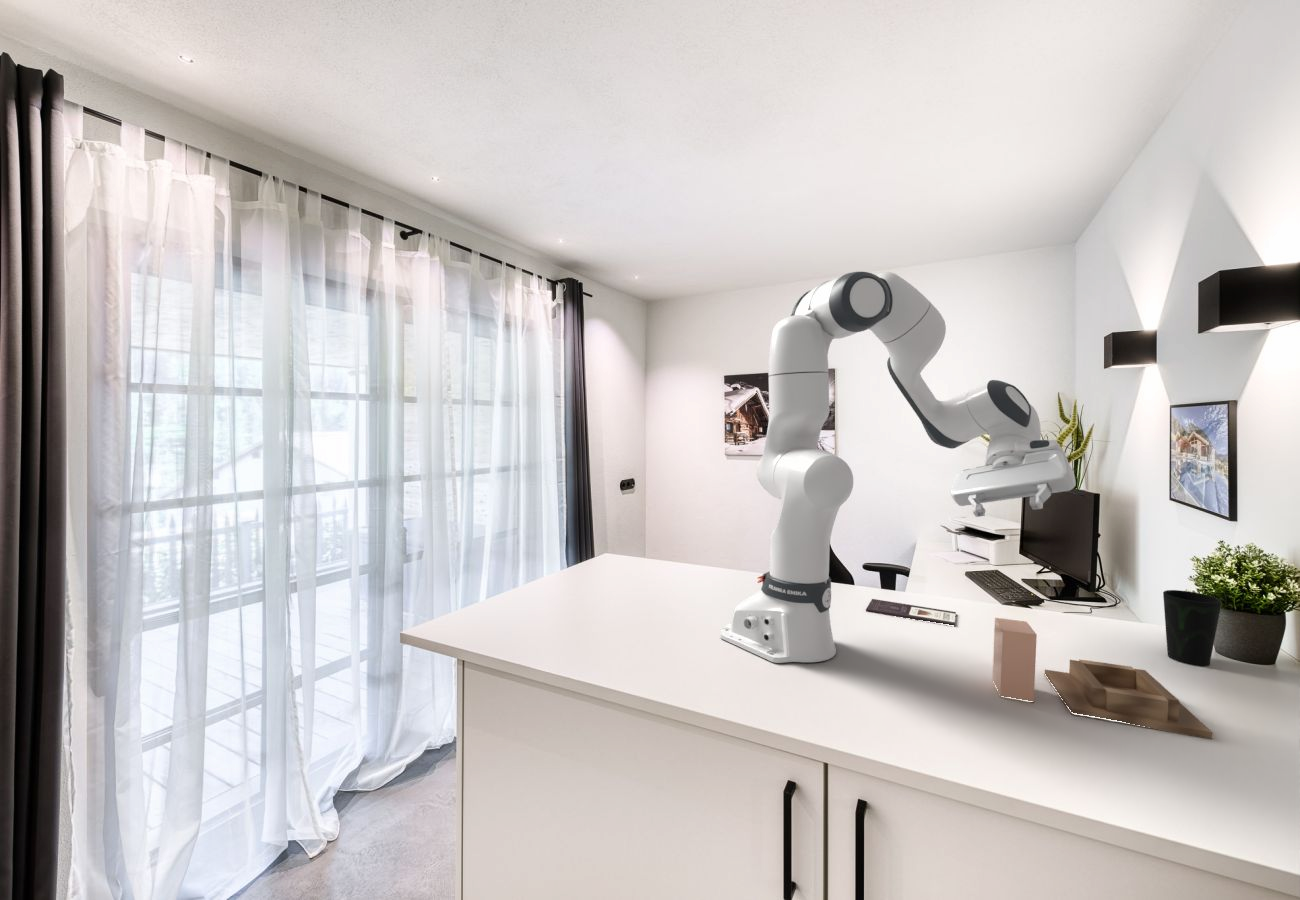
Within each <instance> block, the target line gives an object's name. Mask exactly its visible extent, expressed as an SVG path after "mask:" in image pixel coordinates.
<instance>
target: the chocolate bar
mask: <svg viewBox="0 0 1300 900" xmlns="http://www.w3.org/2000/svg"><path fill="white" fill-rule="evenodd" d="M865 612H866V613H873V614H879V615H883V616H890V617H894V616H896V617H895V618H900V617H903V618H902V619H906V618H910V619H909V620H912V619H915V620H914V621H918V620H923V621H930V622H936V623H943V624H949V625H956V617H955V616H957V615H956V614H957V611H953V610H945V609H938V608H933V607H925V606H920V605H914V604H906V603H901V602H895V601H888V600H882V599H876V598H871V600H870V602H869V603H868V606H867V607H866V608H865ZM923 621H922V622H923Z"/></svg>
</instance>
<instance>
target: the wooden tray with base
mask: <svg viewBox="0 0 1300 900" xmlns="http://www.w3.org/2000/svg"><path fill="white" fill-rule="evenodd" d="M1045 674H1046V676H1047V677H1048V679H1049V680H1050V682H1051V683H1052V684H1053V686H1054V687H1055V689H1056V690H1057V692H1058V693H1059V695H1060V696H1061V698H1062V699H1063V701H1064V702H1065V703H1066V705H1067V706H1068V707H1069V709H1070V710H1071V712H1073V713H1077V714H1083V715H1089V716H1095V717H1100V718H1106V719H1111V720H1117V721H1122V722H1126V723H1130V724H1135V725H1140V726H1145V727H1150V728H1149V729H1151V728H1153V729H1152V730H1156V729H1158V731H1162V730H1163V731H1162V732H1167V733H1168V732H1170V733H1175V734H1181V735H1187V736H1193V737H1198V738H1202V739H1203V738H1204V739H1209V740H1213V734H1214V733H1213V731H1212V730H1211V729H1210V728H1209V727H1208V726H1207V725H1205V724H1204V723H1203V722H1202V721H1201V720H1200V719H1199V718H1197V717H1198V716H1196V715H1194V714H1193V713H1192V712H1191V711H1190V710H1189V709H1188V708H1187V707H1185V705H1183V704H1182V703H1181V702H1180V700H1179V699H1178V698H1177V697H1175V696H1174V695H1173V694H1172V693H1171V692H1170V691H1169V690H1168V689H1167V688H1166V687H1165V686H1164V685H1162V684H1161V682H1159V681H1158V680H1157V679H1156V678H1155V677H1153V676H1152V675H1151V674H1150V673H1149V672H1148V671H1147V670H1145V669H1140V668H1133V667H1132V666H1129V665H1122V664H1117V663H1116V664H1114V663H1108V662H1102V661H1093V660H1085V659H1078V660H1075V659H1069V672H1064V671H1056V670H1050V669H1044V675H1045ZM1048 679H1047V680H1048ZM1050 682H1049V683H1050ZM1059 695H1058V696H1059ZM1061 698H1060V699H1061ZM1063 701H1062V702H1063ZM1145 727H1144V728H1145ZM1154 728H1155V729H1154Z"/></svg>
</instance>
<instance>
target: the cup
mask: <svg viewBox="0 0 1300 900" xmlns="http://www.w3.org/2000/svg"><path fill="white" fill-rule="evenodd" d="M1162 594H1163V596H1162V597H1163V608H1164V609H1163V611H1164V624H1165V637H1166V639H1165V640H1166V649H1167V651H1166V653H1167V657H1168V658H1169V659H1171V660H1173V661H1176V662H1178V663H1181V664H1185V665H1190V666H1195V667H1209V666H1210V664H1211V659H1212V656H1213V655H1212V653H1213V650H1214V646H1215V645H1214V643H1215V639H1216V634H1217V628H1218V624H1219V623H1218V622H1219V618H1220V613H1221V610H1222V609H1221V608H1222V603H1223V601H1222V600H1221V599H1220V598H1217V597H1215V596H1212V595H1208V594H1204V593H1198V592H1194V591H1187V590H1179V589H1169V590H1168V589H1167V590H1164V591H1163V592H1162Z"/></svg>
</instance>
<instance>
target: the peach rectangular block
mask: <svg viewBox="0 0 1300 900" xmlns="http://www.w3.org/2000/svg"><path fill="white" fill-rule="evenodd" d="M993 632H994V633H993V657H992V659H993V660H992V682H993V681H994V683H995V685H996V687H997V689H998V692H999V694H1000V696H1004V697H1011V698H1016V699H1022V700H1028V701H1034V702H1035V688H1036V687H1035V683H1036V682H1035V681H1036V656H1037V633H1036V632H1035V631H1034V629H1033V628H1032V627H1031V625H1030V624H1029V623H1028V621H1025V620H1015V619H1010V618H1009V619H1008V618H1007V619H1006V618H1000V617H994V631H993ZM994 683H993V684H994ZM998 692H997V693H998ZM999 694H998V695H999ZM1000 696H999V697H1000Z"/></svg>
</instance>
